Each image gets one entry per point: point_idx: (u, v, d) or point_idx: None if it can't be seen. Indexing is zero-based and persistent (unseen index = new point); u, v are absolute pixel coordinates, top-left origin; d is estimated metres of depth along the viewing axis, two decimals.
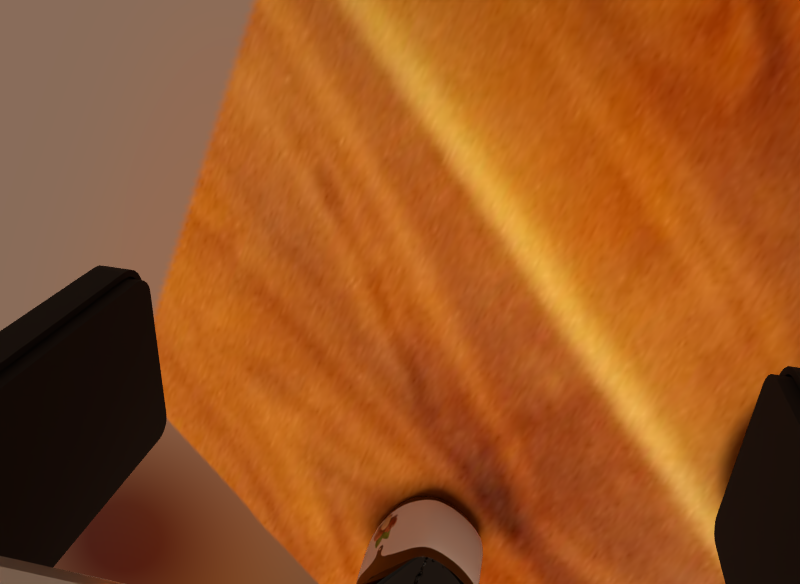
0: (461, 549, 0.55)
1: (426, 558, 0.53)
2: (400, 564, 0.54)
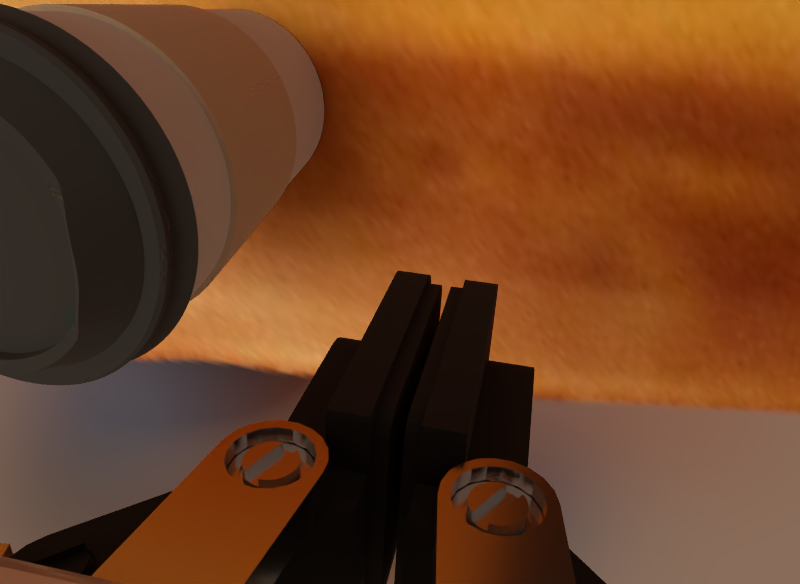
0: None
1: None
2: None
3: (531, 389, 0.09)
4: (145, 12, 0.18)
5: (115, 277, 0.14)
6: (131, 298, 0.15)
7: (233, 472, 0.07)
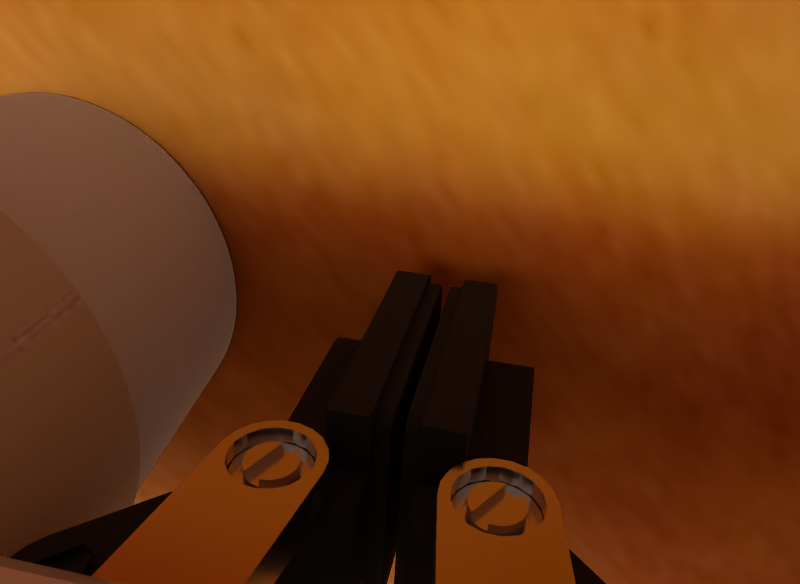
0: None
1: None
2: None
3: (530, 389, 0.09)
4: None
5: None
6: None
7: (233, 472, 0.07)
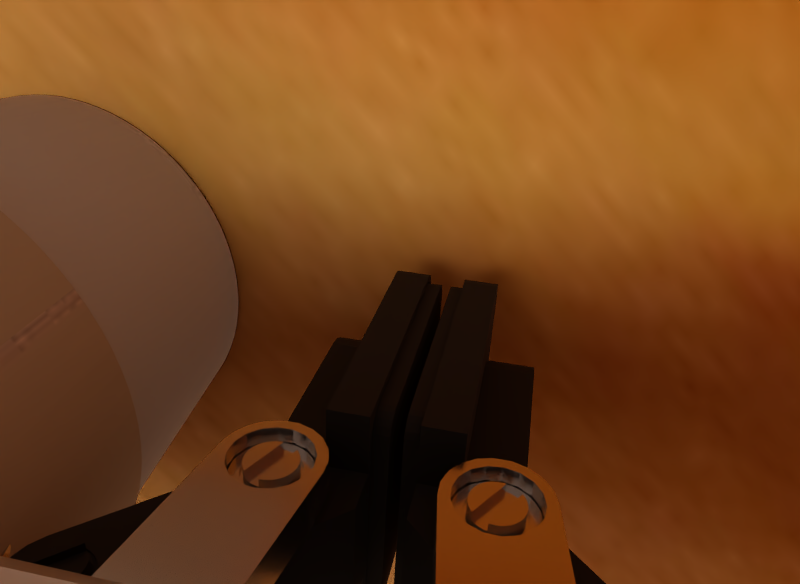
0: None
1: None
2: None
3: (531, 389, 0.09)
4: None
5: None
6: None
7: (233, 472, 0.07)
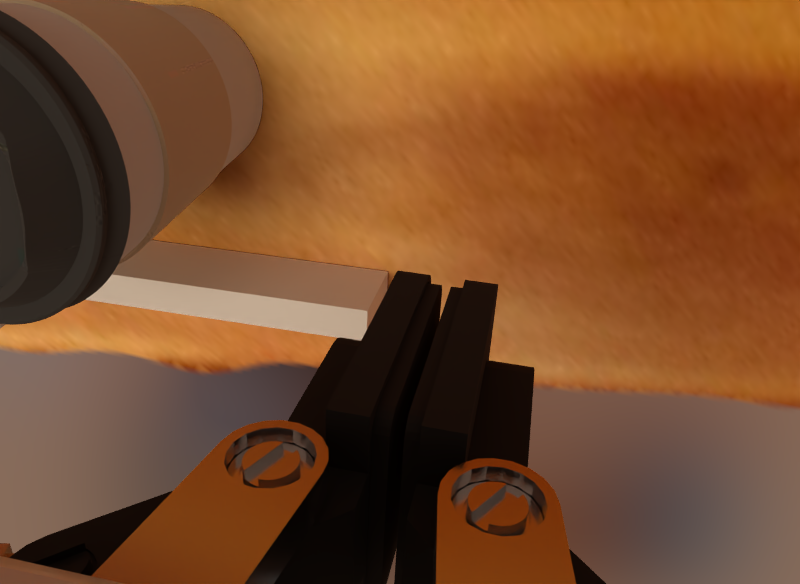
0: None
1: None
2: None
3: (531, 389, 0.09)
4: (86, 4, 0.21)
5: (57, 219, 0.17)
6: (73, 239, 0.18)
7: (233, 472, 0.07)
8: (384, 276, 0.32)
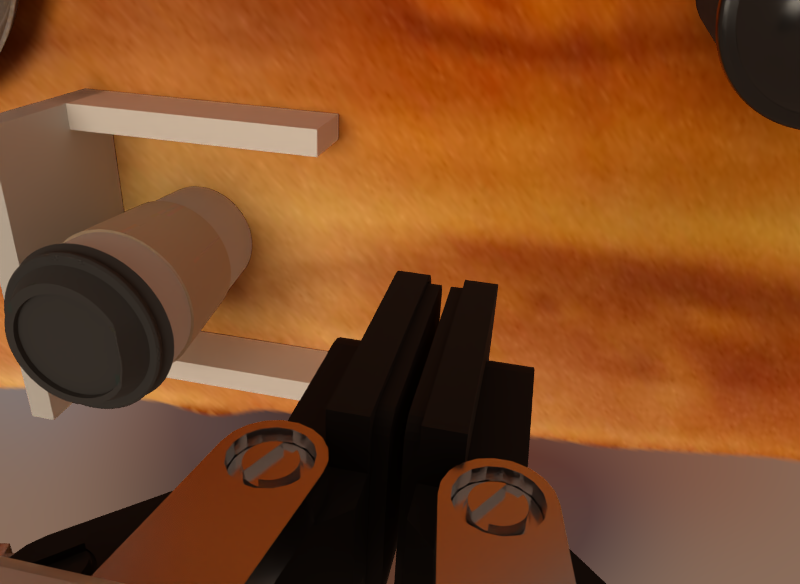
0: None
1: None
2: None
3: (531, 389, 0.09)
4: (146, 222, 0.37)
5: (137, 361, 0.33)
6: (144, 369, 0.34)
7: (233, 472, 0.07)
8: None
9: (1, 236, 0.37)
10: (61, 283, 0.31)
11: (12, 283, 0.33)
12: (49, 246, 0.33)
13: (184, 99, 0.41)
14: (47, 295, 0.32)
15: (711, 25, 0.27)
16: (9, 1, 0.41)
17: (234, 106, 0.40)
